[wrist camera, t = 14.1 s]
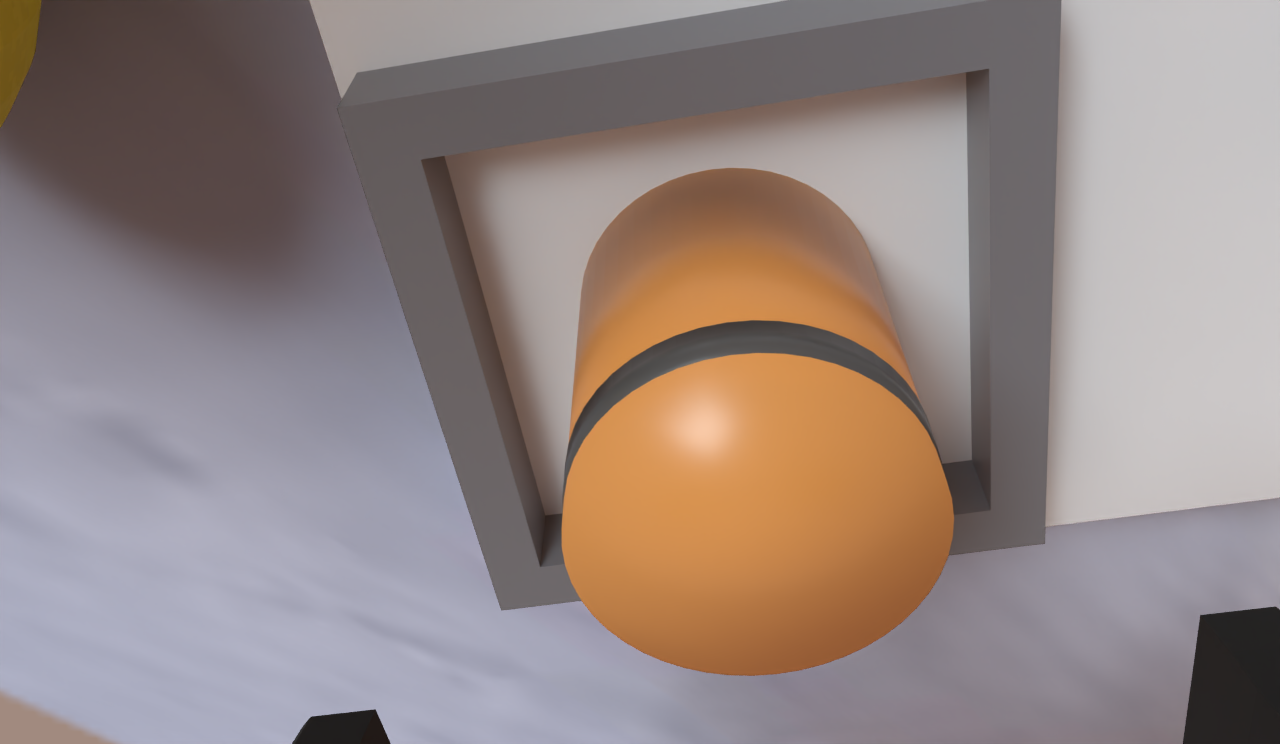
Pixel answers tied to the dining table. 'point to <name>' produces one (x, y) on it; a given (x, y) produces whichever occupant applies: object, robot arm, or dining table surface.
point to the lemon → (16, 47)
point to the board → (879, 208)
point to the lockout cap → (746, 434)
